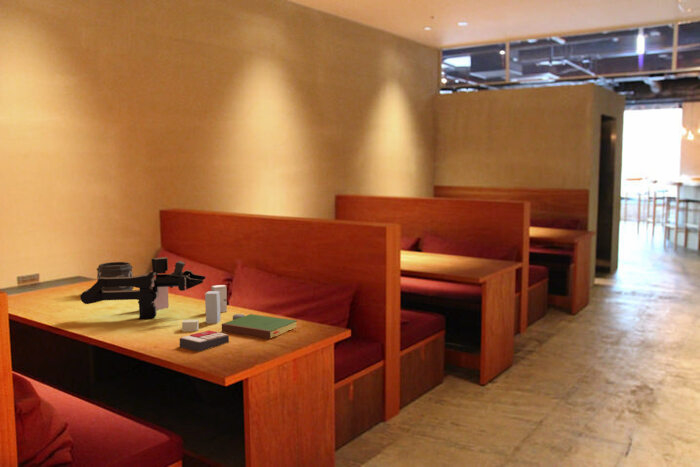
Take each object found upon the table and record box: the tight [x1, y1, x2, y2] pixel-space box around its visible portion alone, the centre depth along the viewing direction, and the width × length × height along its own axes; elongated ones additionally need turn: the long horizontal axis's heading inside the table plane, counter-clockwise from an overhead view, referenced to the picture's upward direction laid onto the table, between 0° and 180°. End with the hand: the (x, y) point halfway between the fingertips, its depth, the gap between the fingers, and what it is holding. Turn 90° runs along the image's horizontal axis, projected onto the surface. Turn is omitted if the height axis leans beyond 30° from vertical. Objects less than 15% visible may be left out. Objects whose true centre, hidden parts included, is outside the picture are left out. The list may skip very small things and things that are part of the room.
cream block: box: [181, 318, 200, 333], centre depth 251 cm, size 6×4×4 cm, turn 97°
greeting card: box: [151, 276, 170, 311], centre depth 286 cm, size 11×7×15 cm, turn 108°
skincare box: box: [210, 284, 228, 313], centre depth 282 cm, size 6×4×12 cm
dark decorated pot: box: [96, 261, 135, 291], centre depth 325 cm, size 18×18×16 cm
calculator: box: [179, 329, 230, 353], centre depth 230 cm, size 11×4×15 cm
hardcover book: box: [221, 313, 297, 340], centre depth 250 cm, size 25×19×4 cm
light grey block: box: [204, 290, 221, 324], centre depth 263 cm, size 5×5×13 cm
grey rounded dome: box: [232, 313, 246, 320], centre depth 263 cm, size 5×5×3 cm
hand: (204, 279), depth 273 cm, fingers open, 9 cm apart
